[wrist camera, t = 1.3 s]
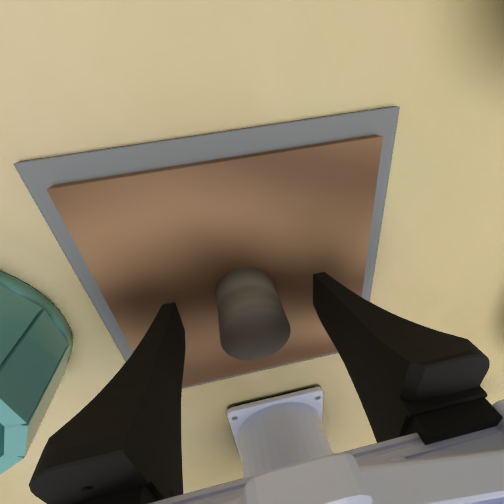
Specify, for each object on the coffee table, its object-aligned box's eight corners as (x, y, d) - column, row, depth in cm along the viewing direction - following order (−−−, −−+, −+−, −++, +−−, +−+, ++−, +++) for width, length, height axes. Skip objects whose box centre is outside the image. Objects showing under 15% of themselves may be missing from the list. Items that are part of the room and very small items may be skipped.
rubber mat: (359, 343, 20) (362, 347, 20) (146, 391, 19) (146, 396, 19) (393, 106, 12) (399, 106, 12) (19, 161, 11) (13, 164, 10)
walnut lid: (350, 341, 20) (381, 390, 16) (156, 385, 18) (147, 448, 15) (375, 134, 12) (439, 149, 9) (53, 184, 11) (-7, 223, 8)
